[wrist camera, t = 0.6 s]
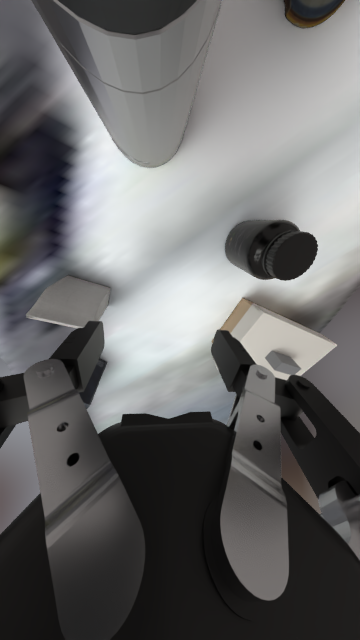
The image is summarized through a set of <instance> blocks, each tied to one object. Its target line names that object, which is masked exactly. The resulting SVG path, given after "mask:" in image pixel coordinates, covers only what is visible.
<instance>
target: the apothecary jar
mask: <svg viewBox="0 0 360 640" xmlns="http://www.w3.org/2000/svg"><path fill="white" fill-rule="evenodd" d="M344 1H345V0H284V2H285V16H286V18H287V19H288V20H289V21H290V22H291V23H292V24H294V25H296V26H298V27H300V28H309V27H313V26H316V25H318V24H320V23H322V22H324V21H325V20H327V19H328V18H329V17H330V16H331V15H333V14H334V13H335V12H336V11H337V9H338V8H339V7H340V6H341V5H342V3H343V2H344Z"/></svg>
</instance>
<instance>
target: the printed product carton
mask: <svg viewBox="0 0 360 640" xmlns="http://www.w3.org/2000/svg"><path fill="white" fill-rule="evenodd" d="M110 290H111V288H109V287H106V286H102V285H99V284H95V283H92V282H89V281H85V280H82V279H78V278H75V277H72V276H68V275H67V276H66V277H64V278H63V279H61V280H59V281H58V282H56V283H54V284H53V285H51V286H49V287H48V288H46V289H45V291H44V292H43V294H42V295H41V296H40V298H39V299H38V301H37V302H36V303H35V305H34V306H33V307H32V308H31V310H30V311H29V312H28V313H27V314H26V315H28V316H27V318H32V319H36V320H41V321H46V322H50V323H55V324H60V325H64V326H69V327H74V328H84V326H85V325H86V324H87V322H88V321H99V320H100V318H101V316H102V315H103V313H104V311H105V310H106V308H107V306H108V302H109V296H110Z"/></svg>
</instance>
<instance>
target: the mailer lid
mask: <svg viewBox="0 0 360 640" xmlns="http://www.w3.org/2000/svg"><path fill="white" fill-rule="evenodd" d="M230 334H231V335H232V337H234V338H236V339H237V340H238V341H240V343H241V344H242V345H243V347H244V348H245V349H246V352H248V353H249V355H250V356H251V357H252V359H253V360H254V361H255V363H256V364H257V365H261V366H263V367H265V368H267V369H268V370H270V371H271V372H272V373H273V375H274V376H275V377H276V378H280V379H284V380H287V379H288V378H289V376H290V375H298V376H301V375H302V374H303V373H304V372H306V371H307V370H308V369H309V368H311V367H312V366H313V365H314V364H315V363H317V361H319V360H320V359H321V358H323V357H324V356H325V355H326V354H327V353H329V352H330V351H331V350H332V349H333V348H334V347H336V346H337V345H336V344H335V343H333V342H332V341H331V340H329V339H328V338H326V337H325V336H324V335H322V334H320V333H318V332H315V331H313V330H311V329H309V328H307V327H304V326H302V325H300V324H298V323H296V322H294V321H291V320H289V319H287V318H285V317H283V316H280V315H278V314H276V313H274V312H272V311H270V310H267V309H265V308H263V307H261V306H259V305H256V304H254V303H253V304H252V305H251V307H250V308H249V309H248V311H247V312H246V313H245V315H244V316H243V317H242V319H241V320H240V321H239V322H238V324H237V325H236V326H235V328H234V329H233V330H232V332H231V333H230ZM213 360H214V358H213ZM214 362H215V360H214ZM215 365H216V363H215ZM216 367H217V365H216ZM217 369H218V367H217ZM218 370H219V369H218Z"/></svg>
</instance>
